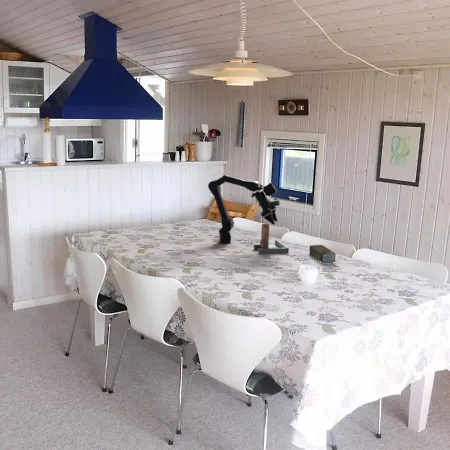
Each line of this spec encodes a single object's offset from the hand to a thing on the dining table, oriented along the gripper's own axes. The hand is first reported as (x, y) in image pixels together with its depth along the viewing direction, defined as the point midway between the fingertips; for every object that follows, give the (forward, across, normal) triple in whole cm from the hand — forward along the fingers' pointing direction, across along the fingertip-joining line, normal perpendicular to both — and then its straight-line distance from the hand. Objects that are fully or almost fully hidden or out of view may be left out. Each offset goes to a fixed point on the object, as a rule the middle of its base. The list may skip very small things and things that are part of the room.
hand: (275, 223), depth 324 cm
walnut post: (+11, -13, +11) cm, 20 cm away
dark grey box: (+29, -18, -17) cm, 38 cm away
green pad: (+11, 0, +10) cm, 15 cm away
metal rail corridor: (+11, -6, +10) cm, 16 cm away
